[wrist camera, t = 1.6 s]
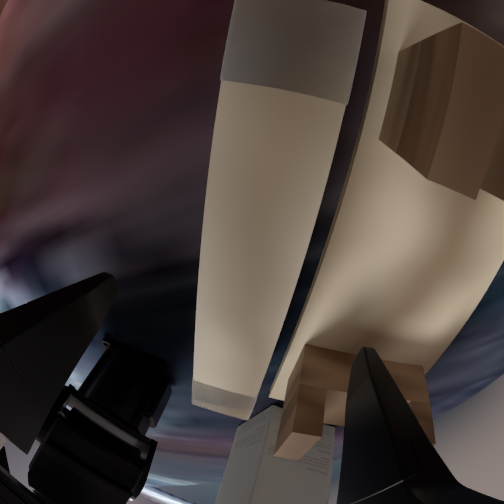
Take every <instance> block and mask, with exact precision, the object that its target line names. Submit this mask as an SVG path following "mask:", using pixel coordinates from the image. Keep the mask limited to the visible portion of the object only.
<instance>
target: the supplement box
mask: <svg viewBox="0 0 504 504" xmlns="http://www.w3.org/2000/svg"><path fill="white" fill-rule="evenodd" d="M282 411H283V408H280V407H278V406H275V405H272V406H270V407H269V408H267V409H265V410H264V411H262V412H261V413H259V414H257V415H256V416H254V417H253V418H251V419H249V420H248V421H246V422H245V423H243V424H241V425H240V426H239V427H238V428H237V431H236V435H235V438H234V442H233V445H232V449H231V452H230V455H229V459H228V462H227V466H226V469H225V472H224V475H223V479H222V482H221V485H220V488H219V491H218V495H217V498H216V501H215V504H328V500H329V492H330V484H331V475H332V464H333V454H334V439H335V427H332V426H329V425H326V424H323V432H322V437H321V439H320V440H319V441H318V442H317V443H316V444H315V445H314V446H313V447H311V448H310V449H309V450H308V451H307V452H306V453H305V454H304V455H303V456H302V457H301V458H300V459H299V460H292V459H286V458H281V457H276V456H273V455H274V450H275V445H276V441H277V436H278V431H279V426H280V421H281V416H282Z"/></svg>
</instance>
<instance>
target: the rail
mask: <svg viewBox="0 0 504 504" xmlns="http://www.w3.org/2000/svg"><path fill="white" fill-rule="evenodd" d="M366 12H367V11H366V10H363V9H359V8H355V7H352V6H348V5H344V4H340V3H336V2H331V1H327V0H235V2H234V7H233V12H232V16H231V21H230V26H229V31H228V37H227V42H226V47H225V53H224V59H223V64H222V70H221V76H220V80H221V86H220V93H219V99H218V105H217V112H216V119H215V126H214V133H213V140H212V148H211V156H210V164H209V172H208V180H207V189H206V198H205V208H204V218H203V228H202V239H201V250H200V262H199V275H198V289H197V305H196V322H195V343H194V369H193V379H192V404H194V405H197V406H200V407H203V408H206V409H209V410H212V411H216V412H219V413H222V414H226V415H229V416H233V417H236V418H240V419H244V420H249V418H250V415H251V413H252V410H253V408H254V405H255V402H256V400H257V397H258V393H259V390H260V387H261V384H262V382H263V379H264V376H265V373H266V371H267V368H268V365H269V363H270V360H271V357H272V354H273V351H274V349H275V346H276V343H277V340H278V337H279V334H280V332H281V329H282V326H283V323H284V320H285V317H286V314H287V311H288V308H289V305H290V302H291V299H292V296H293V293H294V290H295V287H296V284H297V281H298V277H299V274H300V271H301V268H302V265H303V262H304V258H305V255H306V252H307V249H308V245H309V242H310V239H311V235H312V232H313V229H314V225H315V222H316V218H317V215H318V211H319V208H320V204H321V201H322V197H323V194H324V190H325V186H326V183H327V179H328V175H329V171H330V168H331V164H332V160H333V156H334V152H335V148H336V144H337V140H338V136H339V132H340V128H341V124H342V120H343V116H344V111H345V107H346V105H348V102H349V98H350V93H351V89H352V84H353V80H354V75H355V70H356V65H357V61H358V56H359V51H360V45H361V40H362V35H363V29H364V24H365V18H366Z"/></svg>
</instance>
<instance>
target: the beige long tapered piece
mask: <svg viewBox="0 0 504 504" xmlns="http://www.w3.org/2000/svg"><path fill="white" fill-rule="evenodd" d="M503 260H504V46H503V45H502V44H500V43H499V42H497V41H496V40H494V39H493V38H491V37H490V36H488V35H486V34H485V33H483V32H482V31H480V30H478V29H477V28H475V27H473V26H471V25H470V24H468V23H466V22H464V21H462V20H461V19H459V18H457V17H455V16H453V15H451V14H449V13H447V12H445V11H443V10H441V9H439V8H437V7H435V6H432V5H430V4H428V3H426V2H423V1H421V0H385V3H384V10H383V16H382V22H381V28H380V34H379V39H378V45H377V50H376V55H375V60H374V65H373V70H372V75H371V79H370V84H369V89H368V93H367V97H366V102H365V106H364V110H363V114H362V118H361V122H360V126H359V130H358V134H357V138H356V142H355V146H354V150H353V153H352V157H351V161H350V164H349V168H348V171H347V175H346V178H345V182H344V185H343V189H342V192H341V196H340V199H339V202H338V205H337V209H336V212H335V215H334V218H333V222H332V225H331V228H330V231H329V234H328V237H327V240H326V243H325V246H324V249H323V252H322V255H321V258H320V261H319V264H318V267H317V270H316V273H315V276H314V278H313V281H312V284H311V287H310V290H309V292H308V295H307V298H306V301H305V303H304V306H303V309H302V311H301V314H300V317H299V319H298V322H297V325H296V327H295V330H294V332H293V335H292V338H291V340H290V343H289V345H288V348H287V350H286V353H285V355H284V357H283V360H282V362H281V365H280V367H279V370H278V372H277V374H276V377H275V379H274V381H273V384H272V386H271V390H270V394H269V397H270V398H274V399H278V400H283V401H284V405H283V411H282V416H281V421H280V426H279V431H278V436H277V441H276V445H275V450H274V455H273V456H276V457H281V458H286V459H292V460H299V459H300V458H301V457H302V456H303V455H304V454H305V453H306V452H307V451H308V450H309V449H310V448H311V447H313V446H314V445H315V444H316V443H317V442H318V441H319V440H320V439H321V437H322V432H323V423H325V424H332V425H339V426H344V424H345V407H346V398H347V392H348V385H349V378H350V371H351V365H352V362H353V360H354V358H355V357H356V355H357V353H358V352H359V350H360V349H361V347H363V346H368V347H373V348H374V349H375V350H376V352H377V353H378V355H379V356H380V358H381V360H382V361H383V363H384V364H385V366H386V368H387V369H388V371H389V372H390V374H391V376H392V377H393V379H394V381H395V382H396V384H397V386H398V387H399V389H400V391H401V392H402V394H403V396H404V397H405V399H406V401H407V402H408V404H409V406H410V408H411V409H412V411H413V413H414V414H415V416H416V418H417V420H418V421H419V424H420V425H421V427H422V428H423V430H424V432H425V434H426V435H427V437H428V439H429V440H430V442H431V444H432V445H433V446H434V445H435V435H434V427H433V420H432V413H431V406H430V400H429V395H428V389H427V384H426V379H425V374H426V373H427V372H428V371H429V369H430V368H431V367H432V366H433V365H434V364H435V362H436V361H437V360H438V359H439V357H440V356H441V355H442V354H443V352H444V351H445V350H446V349H447V347H448V346H449V345H450V343H451V342H452V341H453V339H454V338H455V337H456V335H457V334H458V333H459V331H460V330H461V329H462V327H463V326H464V324H465V323H466V321H467V320H468V319H469V317H470V316H471V314H472V313H473V311H474V310H475V308H476V307H477V305H478V303H479V302H480V300H481V299H482V297H483V295H484V294H485V292H486V291H487V289H488V287H489V286H490V284H491V282H492V280H493V279H494V277H495V275H496V273H497V272H498V270H499V268H500V266H501V264H502V262H503Z"/></svg>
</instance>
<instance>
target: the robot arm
mask: <svg viewBox="0 0 504 504" xmlns="http://www.w3.org/2000/svg"><path fill="white" fill-rule="evenodd" d="M115 297H116V285H115V278H114V276H113V275H112V274H109V273H106V272H103V273H100V274H97V275H95V276H92V277H90V278H87V279H84V280H82V281H79V282H77V283H74V284H72V285H69V286H67V287H64V288H62V289H59V290H57V291H54V292H52V293H50V294H47V295H45V296H42V297H40V298H37V299H35V300H33V301H30V302H28V303H27V304H23V305H21V306H18V307H16V308H13V309H11V310H8V311H6V312H3V313H0V504H126V503H127V501H128V500H129V501H133V500H134V499H136V497H137V496H138V495H139V494H140V492H141V491H142V489H143V487H144V485H145V483H146V480H147V477H148V473H149V470H150V466H151V463H152V460H153V456H154V453H155V450H156V446H157V443H158V442H157V441H155V440H153V439H149V438H148V437H146V436H145V434H146V432H147V430H148V428H149V427H151V428H155V427H156V425H157V423H158V421H159V419H160V417H161V415H162V413H163V411H164V409H165V407H166V404H167V402H168V400H169V398H170V396H171V391H170V382H169V380H168V377H167V367H166V364H165V363H164V362H163V361H161V360H158V359H156V358H153V357H151V356H148V355H146V354H143V353H141V352H138V351H136V350H133V349H131V348H128V347H126V346H124V345H121V344H119V343H117V342H115V341H112V340H110V339H108V338H103V339H102V341H101V344H102V347H103V350H104V353H103V355H102V356H101V358H100V359H99V360H98V362H97V363H96V365H95V366H94V368H93V369H92V370H91V372H90V373H89V375H88V376H87V378H86V379H85V381H84V382H83V384H82V385H81V386H80V388H79V389H78V391H77V390H76V389H75V387H74V386H72V385H71V384H70V385H69V386H65V383H66V382H67V380H68V378H69V377H70V375H71V373H72V372H73V370H74V368H75V367H76V365H77V363H78V362H79V360H80V358H81V357H82V355H83V354H84V352H85V350H86V349H87V347H88V346H89V344H90V343H91V341H92V339H93V338H94V336H95V335H96V333H97V332H98V330H99V328H100V326H101V325H102V323H103V321H104V319H105V317H106V315H107V313H108V311H109V309H110V307H111V305H112V303H113V302H114V300H115ZM67 405H68V406H70V407H71V408H72V409H71V411H70V410H68V409H67V408H66V406H67ZM7 439H8V440H9V441H11V442H12V443H13V444H14V445H15V446H17V447H18V448H19V449H20V450H22V451H23V452H24V453H25V454H28V452H29V451H30V449H31V446H32V445H33V443H34V442H36V443H37V444H38V445H40V446H39V448H38V450H37V452H36V453H35V455H34V457H33V459H32V461H31V462H30V465H29V472H28V483H29V486H30V487H31V488H32V489H33V492H31V491H30V490H29V489H28V488H26V487H25V486H24V485H23V484H21V483H20V482H19V481H18V480H17V479H15V478H14V477H13V476H12V475H11V474H10V471H9V466H8V462H7V457H6V452H5V447H4V446H3V445H4V443H5V442H6V440H7ZM337 504H504V501H501V500H498V499H495V498H492V497H490V496H487V495H484V494H482V493H479V492H477V491H474V490H472V489H469V488H467V487H465V486H463V485H462V484H460V483H459V482H458V481H457V480H456V479H455V477H454V476H453V475H452V473H451V472H450V470H449V469H448V467H447V466H446V465H445V463H444V461H443V460H442V459H441V457H440V456H439V454H438V453H437V451H436V450H435V448H434V447H433V445H432V444H431V442H430V440H429V439H428V437H427V435H426V434H425V432H424V430H423V428H422V427H421V425H420V424H419V421H418V420H417V418H416V416H415V414H414V413H413V411H412V409H411V408H410V406H409V404H408V402H407V401H406V399H405V397H404V396H403V394H402V392H401V391H400V389H399V387H398V386H397V384H396V382H395V381H394V379H393V377H392V376H391V374H390V372H389V371H388V369H387V368H386V366H385V364H384V363H383V361H382V360H381V358H380V356H379V355H378V353H377V352H376V350H375V349H374V348H373V347H368V346H363V347H361V349H360V350H359V352H358V353H357V355H356V357H355V358H354V360H353V362H352V365H351V371H350V378H349V385H348V392H347V398H346V407H345V424H344V439H343V452H342V463H341V473H340V481H339V490H338V497H337Z"/></svg>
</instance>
